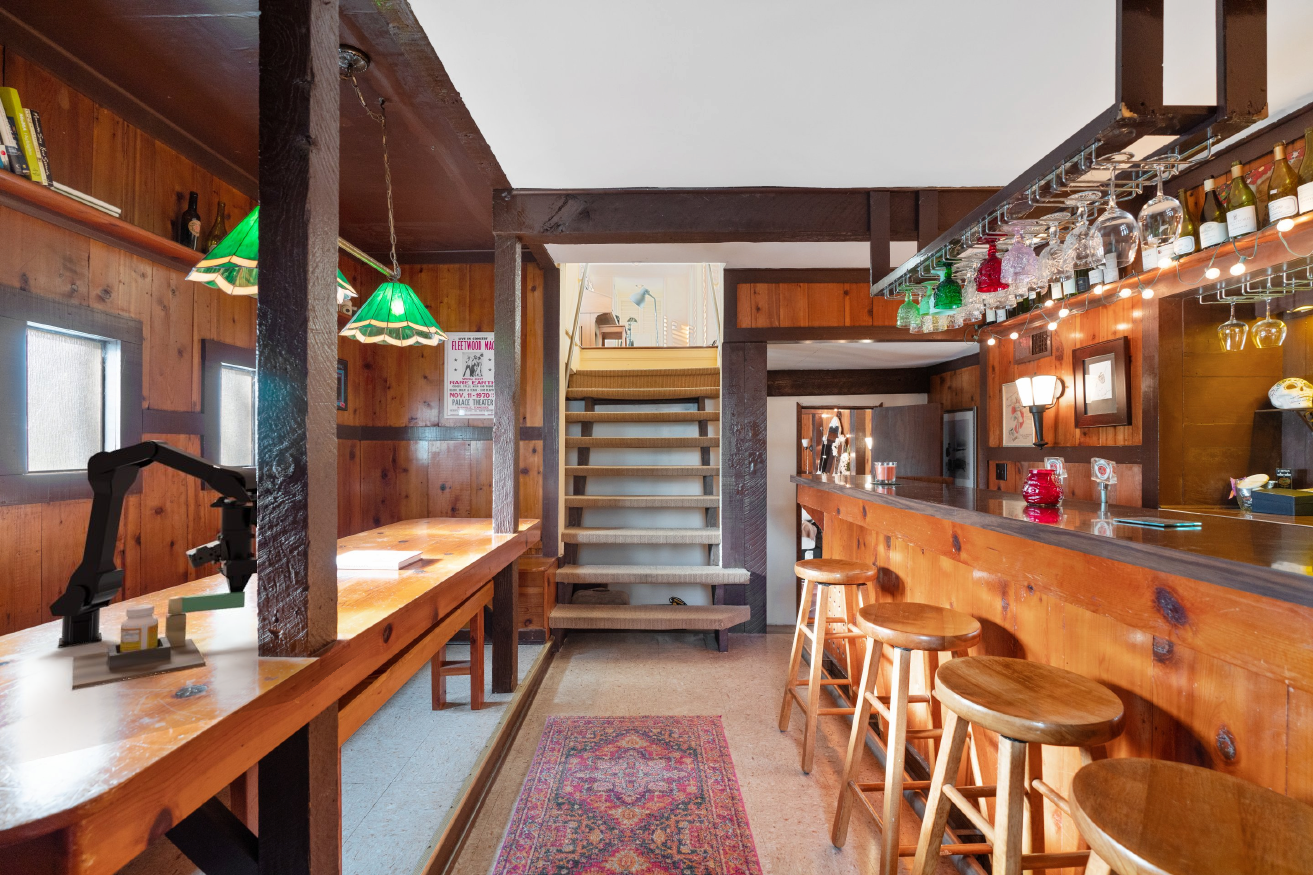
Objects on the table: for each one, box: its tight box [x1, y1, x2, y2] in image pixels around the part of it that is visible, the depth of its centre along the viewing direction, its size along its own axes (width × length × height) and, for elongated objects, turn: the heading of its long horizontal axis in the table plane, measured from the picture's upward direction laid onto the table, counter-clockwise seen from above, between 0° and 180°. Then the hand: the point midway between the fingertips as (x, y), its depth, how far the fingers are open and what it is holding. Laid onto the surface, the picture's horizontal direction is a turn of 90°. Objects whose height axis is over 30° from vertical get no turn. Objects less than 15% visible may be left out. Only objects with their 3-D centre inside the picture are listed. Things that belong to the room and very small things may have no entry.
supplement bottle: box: [119, 604, 159, 653], centre depth 116 cm, size 5×5×10 cm
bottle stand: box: [72, 613, 206, 690], centre depth 116 cm, size 20×18×7 cm
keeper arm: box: [167, 591, 246, 614], centre depth 128 cm, size 13×3×3 cm, turn 120°
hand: (234, 601), depth 132 cm, fingers closed
